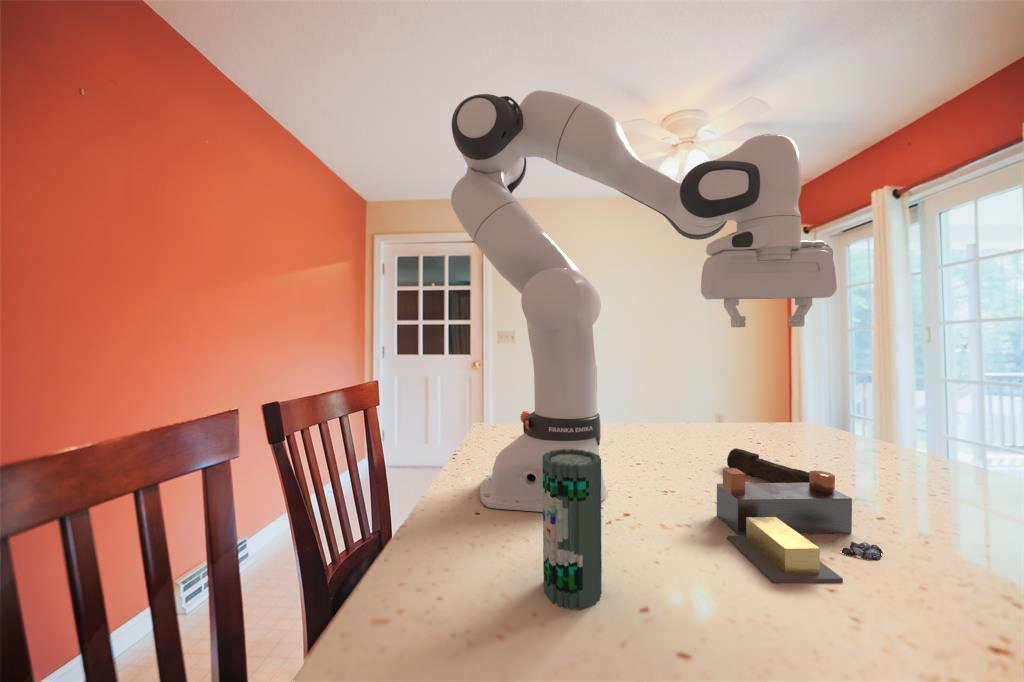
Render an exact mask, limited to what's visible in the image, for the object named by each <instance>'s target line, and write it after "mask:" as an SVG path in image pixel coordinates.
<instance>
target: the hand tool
mask: <svg viewBox="0 0 1024 682" xmlns="http://www.w3.org/2000/svg"><path fill="white" fill-rule="evenodd" d="M726 462H727V463H726V464H727V468H737V469H738V470H740V471H742V472H743V473H745V476H747V477H759V478H763V479H766V480H769V481H771V482H774V483H809V472H810V471H808V472H807V471H805V470H801V469H797V468H792V467H788V466H786V465H782V464H778V463H775V462H772V461H769V460H767V459H763V458H760V455H759V454H758V453H754V452H751V451H748V450H745V449H741V448H738V447H737V448H736V447H735V448H732V449H731V450H730V451H729V453H728V455H727V458H726Z"/></svg>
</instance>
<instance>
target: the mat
mask: <svg viewBox="0 0 1024 682" xmlns="http://www.w3.org/2000/svg"><path fill="white" fill-rule="evenodd" d="M726 539H727V540H728V541H729V542H730V543H731V544H732V545H734V547H735V548H737V549H738V551H739V552H740V553H741V554H742V555H743V556H745V557H746V558H747V560H748V561H750V562H751V563H752V564H753V565H754V566H755V567H756V568H757V569H758V570H759V571H760V572H761V573H762V574H763V575H764V576H765V577H766V578H767V579H768V580H769V581H770V582H771V583H773V584H776V583H777V584H781V583H785V584H786V583H843V582H844V578H843V577H842V576H840V575H839V574H838V573H836V572H835V571H834V570H833V569H831V568H830V567H828V566H827V565H826V564H824V563H823V562H822V561H820V568H819V574H784V573H783V572H782V571H781V570H780V569H779V568H778V567H777V566H775V565H774V564H773V563H772V562H771V561H770V560H769V559H768V558H766V557H765V556H764V555H763V554H762V553H761V552H760V551H759V550H758V549H756V548H755V547H754V546H753V545H752V544H751V543H750V542H749V541H748V540H746V535H727V536H726Z"/></svg>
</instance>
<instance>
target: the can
mask: <svg viewBox="0 0 1024 682" xmlns="http://www.w3.org/2000/svg"><path fill="white" fill-rule="evenodd" d="M601 470H602V458H601V456H600V454H599V455H597V454H594V453H592V452H590V451H587V452H586V451H584V450H578V449H576V450H574V449H568V450H566V449H560V450H553V451H550V452H548V453H545V454H544V456H543V512H542V543H543V544H542V547H543V548H542V549H543V552H542V554H543V555H542V557H543V558H542V559H543V567H542V568H543V593H544V594H545V596H546V597H547V599H548V600H549V601H550V602H551V603H552V604H557V605H558V606H559V608H562V607H564V608H565V609H568V608H569V610H574V609H578V610H580V611H581V610H584V609H587V608H589V607H592V606H595V605H596V604H597V603H596V602H598V601H600V600H601V597H602V594H603V591H602V588H603V587H602V585H603V584H602V583H603V581H602V577H603V576H602V575H603V574H602V571H603V570H602V569H603V568H602V566H603V565H602V562H603V561H602V501H601ZM555 602H556V603H555Z"/></svg>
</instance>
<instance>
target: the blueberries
mask: <svg viewBox="0 0 1024 682" xmlns="http://www.w3.org/2000/svg"><path fill="white" fill-rule="evenodd" d="M849 547H850V548H849ZM849 547H843V548H842V550H841V551H842V553H844V554H843V555H845V554H846V555H845V556H847V555H848V556H847V557H852V556H855V557H854V558H856V557H857V558H856V559H859V558H863V559H862V560H867V559H868V560H867V561H871V562H875V561H881V559H882V557H883V556H882V555H883V554H884V552H883V550H882V548H880V547H879V545H877V544H872V545H870V544H869V542H868V543H867V542H861V543H856V542H855V541H851V542H850V544H849ZM842 553H841V554H842ZM881 553H882V554H881ZM849 555H850V556H849Z"/></svg>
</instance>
